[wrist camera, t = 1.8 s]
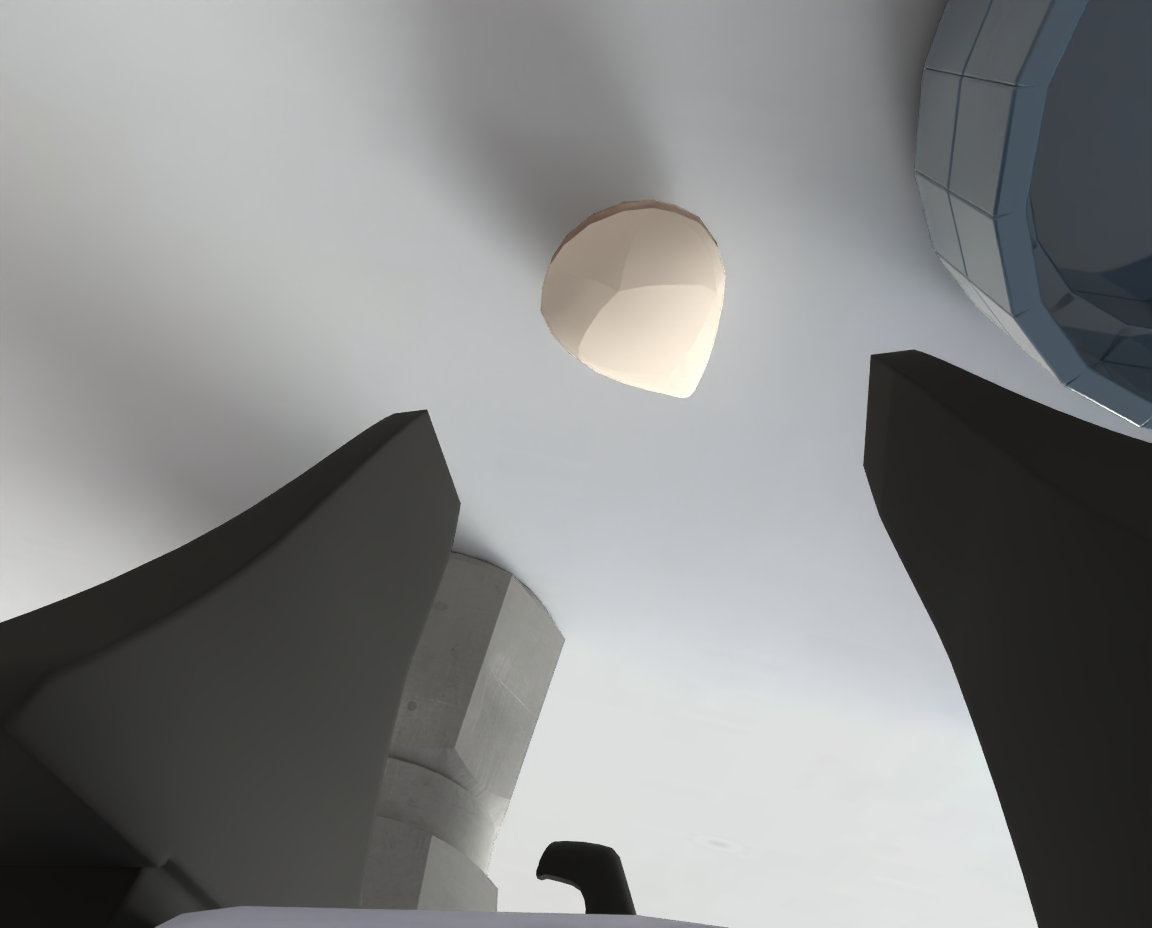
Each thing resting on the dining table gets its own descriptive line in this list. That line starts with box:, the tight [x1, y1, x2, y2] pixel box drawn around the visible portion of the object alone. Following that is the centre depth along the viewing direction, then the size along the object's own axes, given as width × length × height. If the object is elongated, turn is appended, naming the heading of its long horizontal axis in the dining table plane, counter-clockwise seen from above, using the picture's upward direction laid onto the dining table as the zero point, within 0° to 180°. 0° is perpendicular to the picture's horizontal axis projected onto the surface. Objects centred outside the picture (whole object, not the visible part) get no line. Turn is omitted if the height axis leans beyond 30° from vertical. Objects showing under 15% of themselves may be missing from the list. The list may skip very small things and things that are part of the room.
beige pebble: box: [541, 200, 726, 398], centre depth 16 cm, size 4×5×2 cm
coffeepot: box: [361, 552, 636, 915], centre depth 17 cm, size 15×9×18 cm, turn 97°
